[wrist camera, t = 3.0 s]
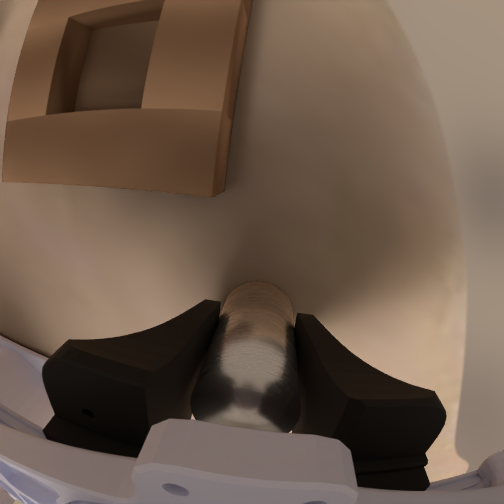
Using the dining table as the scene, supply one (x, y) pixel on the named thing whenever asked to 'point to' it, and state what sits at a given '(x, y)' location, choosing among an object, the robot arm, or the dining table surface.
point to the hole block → (127, 94)
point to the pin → (251, 363)
